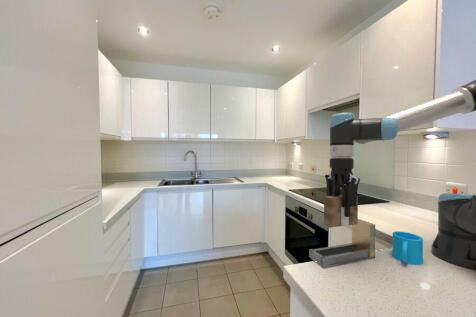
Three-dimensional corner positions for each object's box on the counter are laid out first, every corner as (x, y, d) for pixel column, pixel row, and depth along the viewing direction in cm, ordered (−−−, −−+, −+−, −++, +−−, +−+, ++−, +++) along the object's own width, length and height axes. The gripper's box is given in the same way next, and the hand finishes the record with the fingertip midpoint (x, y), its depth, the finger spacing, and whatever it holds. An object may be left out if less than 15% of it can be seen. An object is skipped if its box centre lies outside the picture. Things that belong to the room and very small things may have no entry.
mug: (394, 250, 75) (394, 229, 75) (423, 258, 69) (423, 235, 69) (388, 262, 67) (388, 238, 67) (421, 272, 61) (421, 246, 61)
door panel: (350, 221, 73) (350, 194, 73) (357, 224, 70) (357, 196, 70) (323, 224, 69) (324, 196, 69) (330, 227, 66) (330, 198, 66)
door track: (356, 248, 77) (357, 218, 77) (375, 258, 70) (375, 224, 69) (309, 257, 70) (309, 223, 70) (324, 268, 63) (324, 231, 63)
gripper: (317, 157, 76) (316, 217, 76) (352, 157, 61) (351, 233, 61) (332, 157, 78) (331, 216, 78) (370, 157, 63) (369, 230, 63)
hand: (340, 223), depth 70 cm, fingers closed on door panel, 3 cm apart
